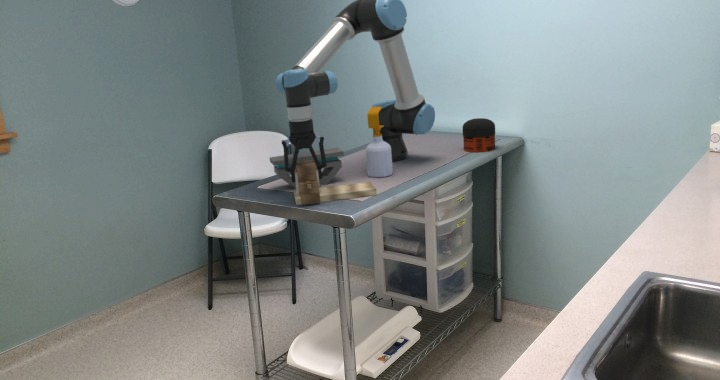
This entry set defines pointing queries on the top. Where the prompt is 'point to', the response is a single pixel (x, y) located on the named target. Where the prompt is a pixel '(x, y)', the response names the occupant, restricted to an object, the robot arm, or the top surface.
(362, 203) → the top surface
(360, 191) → the board
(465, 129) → the oil filter
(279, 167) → the grey slotted trapezoid block
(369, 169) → the soap bottle
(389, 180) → the top surface
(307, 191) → the notched wooden block
